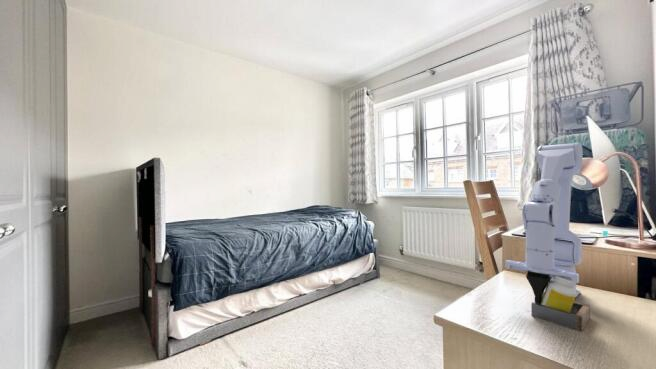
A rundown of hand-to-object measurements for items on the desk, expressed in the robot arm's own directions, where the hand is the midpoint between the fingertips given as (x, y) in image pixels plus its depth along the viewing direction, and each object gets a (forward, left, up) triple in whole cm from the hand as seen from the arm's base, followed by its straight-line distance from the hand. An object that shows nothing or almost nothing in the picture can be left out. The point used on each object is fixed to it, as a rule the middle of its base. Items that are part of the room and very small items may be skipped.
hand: (538, 303), depth 67 cm
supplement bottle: (0, +3, -2) cm, 3 cm away
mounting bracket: (-1, +4, -2) cm, 5 cm away
